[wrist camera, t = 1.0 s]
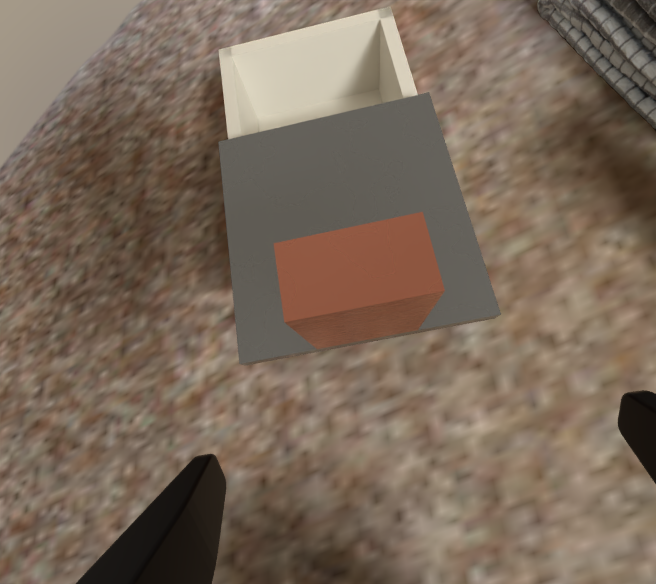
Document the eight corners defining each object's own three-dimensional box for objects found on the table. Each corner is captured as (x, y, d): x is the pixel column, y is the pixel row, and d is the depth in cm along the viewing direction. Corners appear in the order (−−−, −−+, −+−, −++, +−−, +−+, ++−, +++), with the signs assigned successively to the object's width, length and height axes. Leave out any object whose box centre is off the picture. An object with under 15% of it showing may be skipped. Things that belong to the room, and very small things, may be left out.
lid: (494, 318, 16) (579, 264, 9) (245, 365, 16) (163, 345, 10) (426, 104, 19) (453, -44, 13) (224, 151, 20) (153, 34, 14)
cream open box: (425, 224, 24) (441, 170, 18) (267, 257, 25) (236, 215, 19) (386, 86, 28) (390, 6, 22) (249, 119, 28) (218, 49, 23)
